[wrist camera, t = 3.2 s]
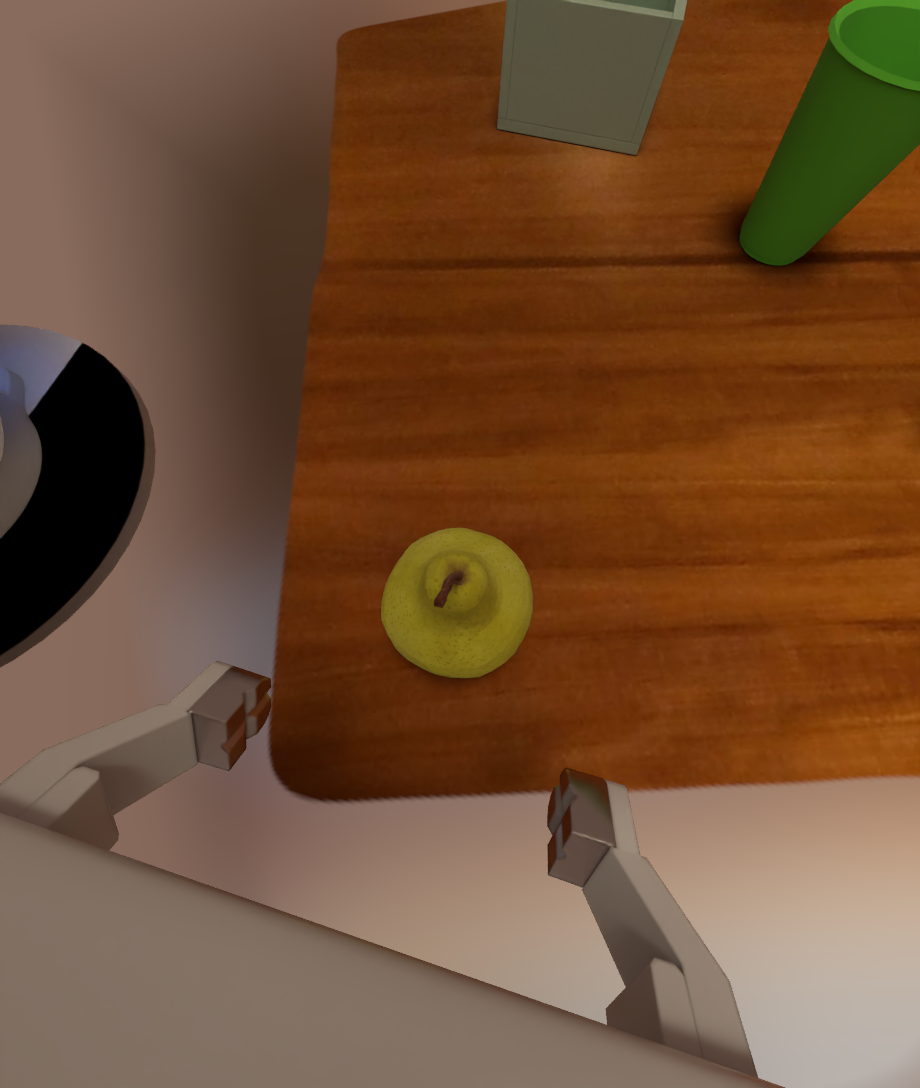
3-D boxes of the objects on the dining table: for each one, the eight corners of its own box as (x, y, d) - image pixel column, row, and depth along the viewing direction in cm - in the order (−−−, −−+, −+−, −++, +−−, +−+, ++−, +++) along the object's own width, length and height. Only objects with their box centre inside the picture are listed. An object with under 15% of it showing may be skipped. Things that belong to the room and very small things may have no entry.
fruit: (435, 534, 24) (419, 404, 13) (539, 589, 23) (621, 500, 12) (372, 638, 22) (287, 592, 11) (483, 703, 21) (517, 726, 10)
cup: (749, 296, 31) (901, 99, 20) (692, 216, 34) (800, 5, 23) (851, 271, 32) (1045, 71, 21) (788, 195, 35) (933, -15, 24)
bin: (496, 129, 37) (507, -10, 29) (527, 53, 41) (543, -86, 33) (636, 156, 36) (683, 19, 29) (653, 76, 40) (699, -62, 33)
